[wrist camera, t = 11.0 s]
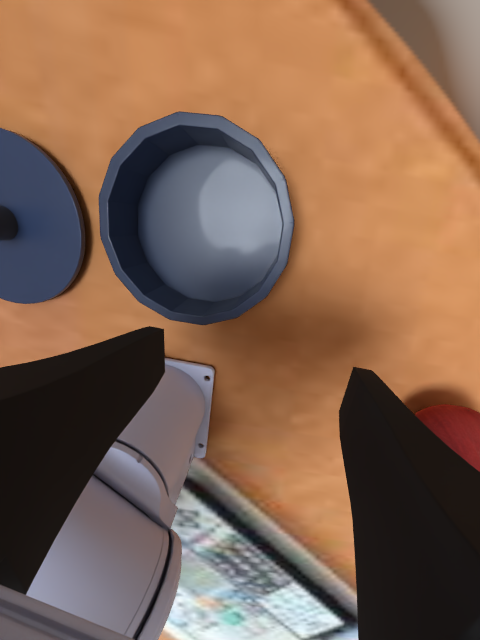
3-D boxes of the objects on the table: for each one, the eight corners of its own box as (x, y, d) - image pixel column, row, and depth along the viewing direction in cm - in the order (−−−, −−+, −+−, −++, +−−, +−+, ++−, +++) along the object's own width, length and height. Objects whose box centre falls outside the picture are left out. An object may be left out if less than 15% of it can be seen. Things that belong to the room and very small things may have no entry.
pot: (275, 317, 21) (274, 337, 17) (133, 294, 22) (103, 308, 18) (305, 146, 17) (312, 123, 13) (132, 128, 18) (93, 102, 14)
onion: (437, 455, 23) (515, 569, 15) (373, 426, 23) (419, 526, 15) (486, 402, 21) (605, 502, 13) (416, 370, 21) (494, 452, 13)
